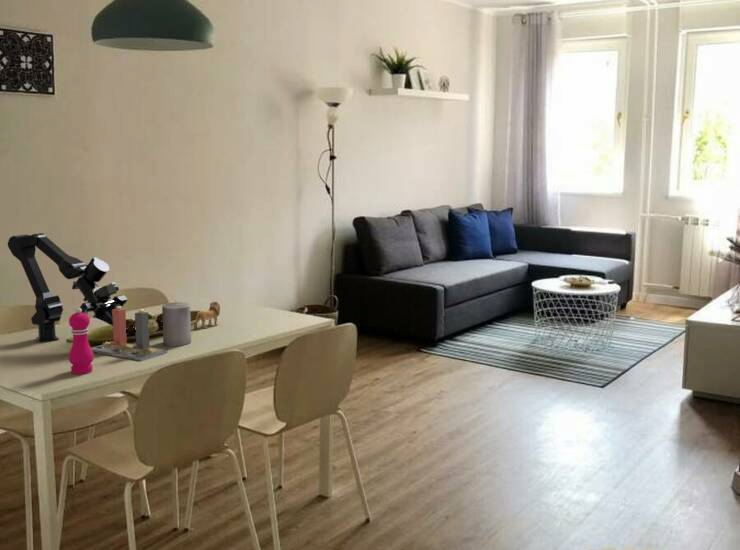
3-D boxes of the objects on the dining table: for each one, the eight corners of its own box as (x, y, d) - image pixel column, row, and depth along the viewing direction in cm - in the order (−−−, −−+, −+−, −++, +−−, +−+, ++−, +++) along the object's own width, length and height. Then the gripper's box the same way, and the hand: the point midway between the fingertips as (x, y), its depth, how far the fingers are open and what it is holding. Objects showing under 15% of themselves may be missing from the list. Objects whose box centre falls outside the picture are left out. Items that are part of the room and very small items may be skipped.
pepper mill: (64, 372, 248) (60, 308, 245) (83, 367, 254) (80, 304, 251) (80, 376, 244) (76, 311, 241) (99, 370, 250) (96, 307, 247)
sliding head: (108, 348, 272) (106, 308, 270) (120, 345, 277) (118, 305, 275) (115, 349, 271) (113, 308, 269) (126, 346, 276) (125, 306, 273)
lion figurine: (212, 322, 319) (211, 299, 318) (223, 323, 317) (223, 301, 316) (190, 329, 306) (189, 306, 305) (201, 331, 304) (201, 307, 302)
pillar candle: (163, 340, 290) (162, 299, 287) (191, 338, 292) (190, 298, 289) (162, 347, 280) (161, 304, 278) (191, 345, 282) (190, 303, 280)
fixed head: (131, 352, 268) (129, 311, 265) (142, 348, 272) (141, 308, 270) (137, 353, 266) (136, 312, 264) (149, 349, 271) (147, 309, 269)
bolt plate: (88, 351, 273) (88, 345, 273) (115, 344, 283) (114, 338, 283) (141, 360, 262) (140, 354, 261) (167, 352, 272) (166, 347, 272)
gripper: (80, 279, 267) (106, 315, 263) (122, 272, 283) (147, 306, 279) (64, 301, 272) (90, 336, 268) (107, 292, 288) (131, 325, 284)
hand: (115, 325), depth 275 cm, fingers closed, pressing on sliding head
